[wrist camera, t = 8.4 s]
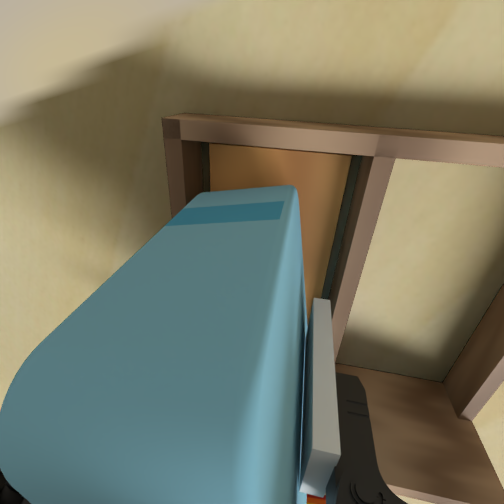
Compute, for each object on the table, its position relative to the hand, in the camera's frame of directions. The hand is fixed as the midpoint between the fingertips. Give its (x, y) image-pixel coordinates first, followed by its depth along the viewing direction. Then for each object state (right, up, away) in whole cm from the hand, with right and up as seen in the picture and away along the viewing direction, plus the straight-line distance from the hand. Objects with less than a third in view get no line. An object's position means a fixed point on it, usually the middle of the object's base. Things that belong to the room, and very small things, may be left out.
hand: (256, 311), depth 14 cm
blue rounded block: (+1, +1, +2) cm, 3 cm away
